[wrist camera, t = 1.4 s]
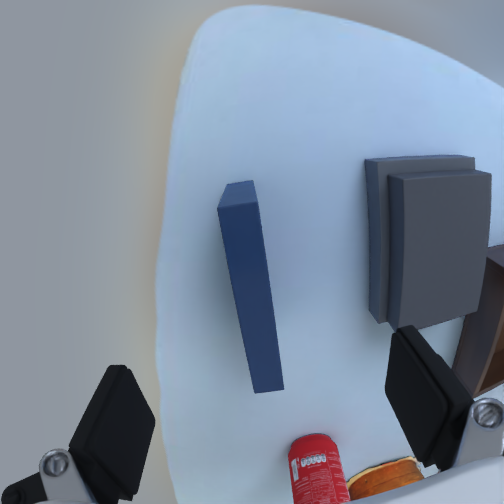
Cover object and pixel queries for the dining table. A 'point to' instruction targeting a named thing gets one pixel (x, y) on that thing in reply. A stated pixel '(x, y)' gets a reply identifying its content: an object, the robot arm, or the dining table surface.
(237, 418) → the dining table surface
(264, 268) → the blue book
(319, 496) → the beverage can
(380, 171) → the grey books
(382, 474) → the vessel
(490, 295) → the book box
